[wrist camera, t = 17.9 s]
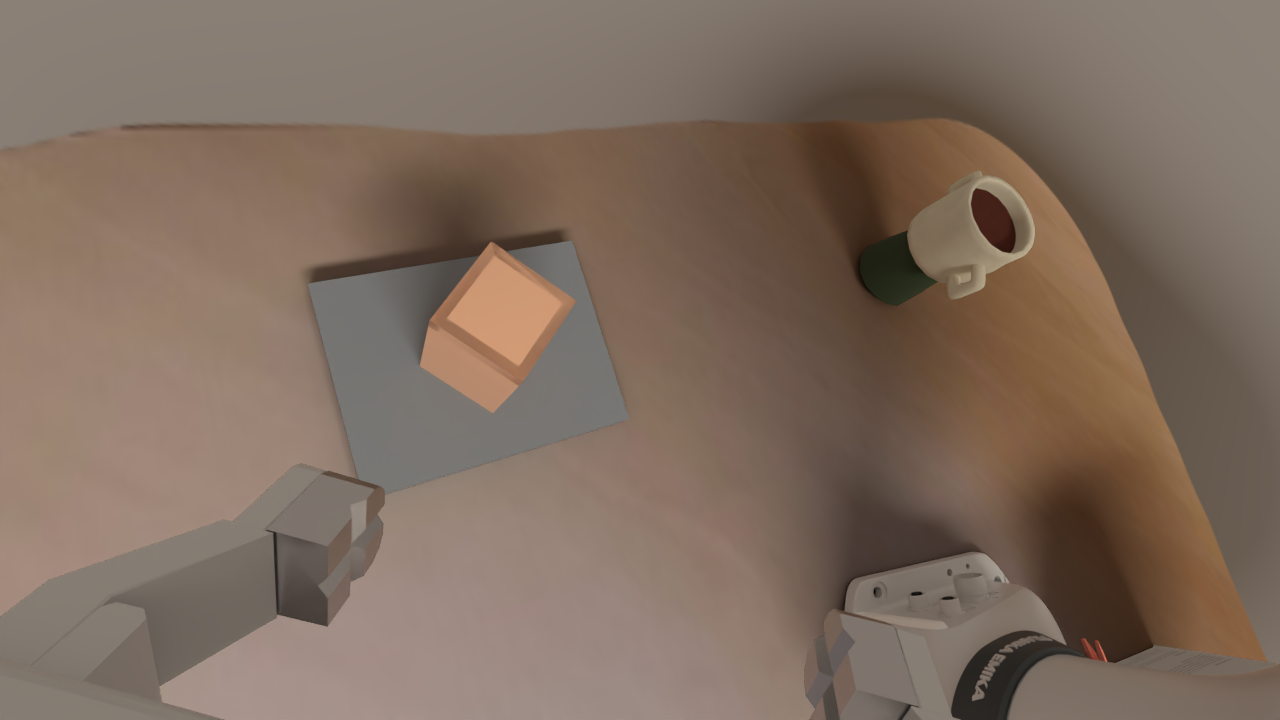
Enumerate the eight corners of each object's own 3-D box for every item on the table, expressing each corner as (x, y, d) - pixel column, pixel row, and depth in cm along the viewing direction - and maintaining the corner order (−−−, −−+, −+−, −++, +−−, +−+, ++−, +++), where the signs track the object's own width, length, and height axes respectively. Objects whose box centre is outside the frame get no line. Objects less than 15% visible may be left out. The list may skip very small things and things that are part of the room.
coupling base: (566, 248, 48) (603, 192, 40) (622, 421, 46) (672, 399, 38) (310, 291, 41) (291, 233, 32) (364, 500, 39) (359, 494, 31)
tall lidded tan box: (468, 301, 43) (491, 241, 34) (537, 347, 44) (576, 301, 35) (419, 366, 41) (429, 320, 32) (492, 413, 42) (522, 382, 33)
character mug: (909, 339, 59) (1038, 293, 47) (848, 318, 57) (967, 264, 45) (912, 238, 63) (1033, 172, 51) (854, 215, 60) (967, 140, 49)
